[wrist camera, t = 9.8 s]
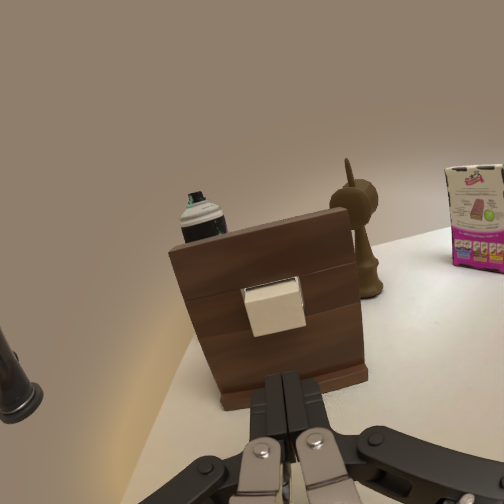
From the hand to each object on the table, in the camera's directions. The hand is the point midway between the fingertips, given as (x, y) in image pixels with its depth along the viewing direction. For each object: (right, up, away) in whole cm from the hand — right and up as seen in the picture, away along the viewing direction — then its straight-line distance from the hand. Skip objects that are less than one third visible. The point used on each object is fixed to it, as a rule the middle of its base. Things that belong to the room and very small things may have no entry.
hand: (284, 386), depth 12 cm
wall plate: (+3, -7, +16) cm, 17 cm away
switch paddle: (+1, 0, +10) cm, 10 cm away
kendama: (+16, 0, +28) cm, 33 cm away
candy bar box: (+37, +4, +23) cm, 44 cm away
